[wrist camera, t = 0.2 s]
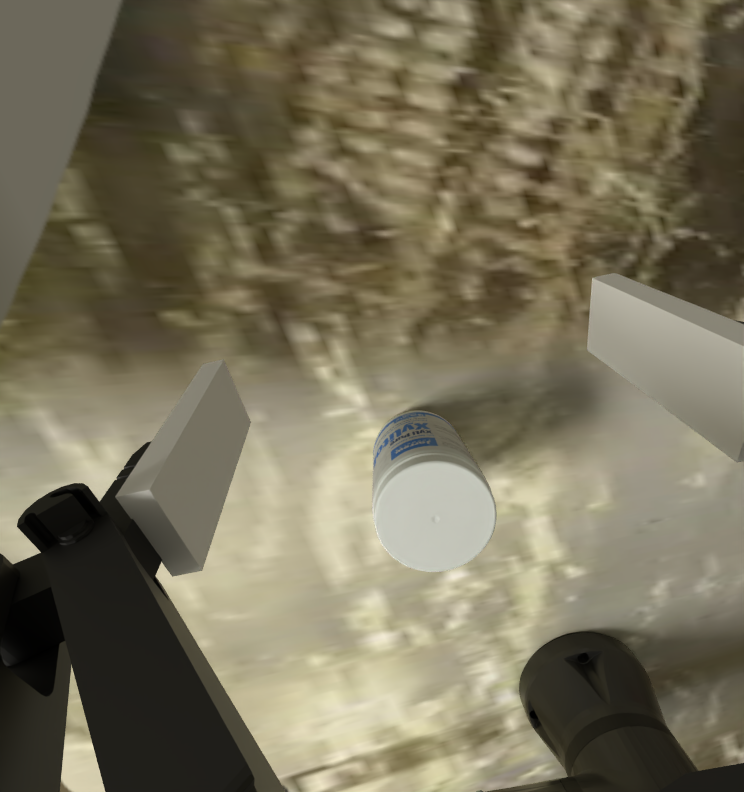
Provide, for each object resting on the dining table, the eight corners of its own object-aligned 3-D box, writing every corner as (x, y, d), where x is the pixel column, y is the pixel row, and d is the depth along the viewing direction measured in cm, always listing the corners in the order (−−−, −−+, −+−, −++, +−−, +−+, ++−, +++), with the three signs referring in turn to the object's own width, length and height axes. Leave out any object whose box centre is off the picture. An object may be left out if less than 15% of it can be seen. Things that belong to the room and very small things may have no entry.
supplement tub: (408, 391, 43) (426, 431, 29) (477, 441, 44) (527, 504, 30) (355, 460, 45) (346, 531, 30) (423, 507, 46) (446, 596, 32)
